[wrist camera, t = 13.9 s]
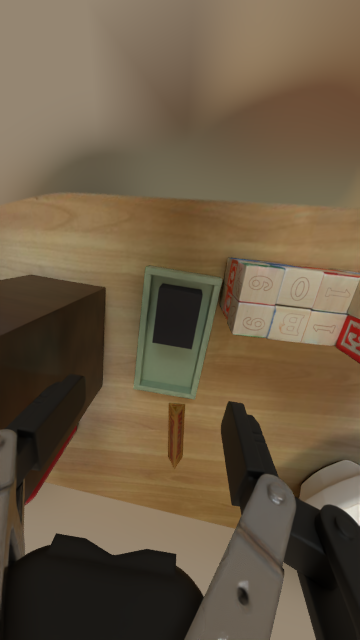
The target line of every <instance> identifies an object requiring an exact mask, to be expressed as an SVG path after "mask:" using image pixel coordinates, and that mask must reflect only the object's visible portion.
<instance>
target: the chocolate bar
mask: <svg viewBox="0 0 360 640" xmlns="http://www.w3.org/2000/svg"><path fill="white" fill-rule="evenodd" d="M184 413H185V404H172V403H169V431H168V457H169V459H170V461H171V463H172V465H173V468H174V469H175V467H176V466H177V464H178V463H179V461H180V460H181V458H182V455H183V434H184Z"/></svg>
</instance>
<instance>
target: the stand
mask: <svg viewBox="0 0 360 640" xmlns="http://www.w3.org/2000/svg"><path fill="white" fill-rule="evenodd" d="M104 313H105V287H99V286H93V285H87V284H82V283H76V282H70V281H64V280H58V279H52V278H47V277H41V276H35V275H28V276H22V277H16V278H10V279H4V280H0V430H1V429H5V428H6V427H7V426H8V425H9V424H10V423H11V422H12V421H13V420H14V419H15V418H16V417H17V416H18V415H19V414H20V413H21V412H22V411H23V410H24V409H25V408H26V407H27V406H28V405H29V404H30V403H32V402H33V401H34V400H35V399H36V398H37V397H38V396H39V395H40V394H41V393H42V392H43V391H44V390H45V389H46V388H47V387H49V386H50V385H52V384H54V383H56V382H62V381H63V380H64V379H65V378H66V377H67V376H68V375H69V374H76V375H82V376H85V378H86V401H85V404H84V407H83V409H82V410H81V412H80V413H79V415H78V416H77V418H76V419H75V421H74V422H73V424H72V425H71V427H70V428H69V430H68V431H67V433H66V434H65V436H64V437H63V439H62V440H61V442H60V443H59V445H58V446H57V448H56V449H55V450H54V452H53V453H52V455H51V456H50V458H49V459H48V461H47V462H46V464H45V465H44V467H43V468H42V470H41V471H36V470H30V472H29V473H28V474H27V476H26V477H25V499H24V504H25V503H26V501H27V500H28V498H29V497H30V495H31V494H32V492H33V491H34V489H35V488H36V486H37V485H38V483H39V482H40V480H41V479H42V477H43V475H44V474H45V472H46V471H47V469H48V468H49V466H50V465H51V463H52V462H53V460H54V459H55V457H56V456H57V454H58V453H59V451H60V450H61V448H62V446H63V445H64V443H65V442H66V440H67V439H68V437H69V436H70V434H71V433H72V431H73V430H74V428H75V427H76V425H77V424H78V422H79V421H80V419H81V417H82V416H83V414H84V413H85V411H86V410H87V408H88V407H89V405H90V404H91V402H92V401H93V399H94V398H95V396H96V395H97V393H98V392H99V390H100V388H101V387H102V380H103V346H104Z"/></svg>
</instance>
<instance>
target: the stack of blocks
mask: <svg viewBox="0 0 360 640" xmlns="http://www.w3.org/2000/svg"><path fill="white" fill-rule="evenodd" d="M220 307H221V309H222V311H223V314H224V316H225V318H226V319H227V324H228V326H229V328H230V330H231V332H232V334H234V335H241V336H251V337H261V338H267V339H273V340H281V341H291V342H301V343H305V344H315V345H326V346H333V345H334V346H336V347H337V348H338V349H339V350H340V351H342V352H344V353H345V354H347V355H348V356H349V357H351V358H352V359H354V360H355V361H357V362H358V363H360V273H359V272H352V271H344V270H336V269H328V270H327V269H319V268H310V267H298V266H290V265H286V264H281V263H275V262H267V261H259V260H246V259H237V258H228V261H227V267H226V272H225V277H224V283H223V287H222V293H221V299H220Z"/></svg>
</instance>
